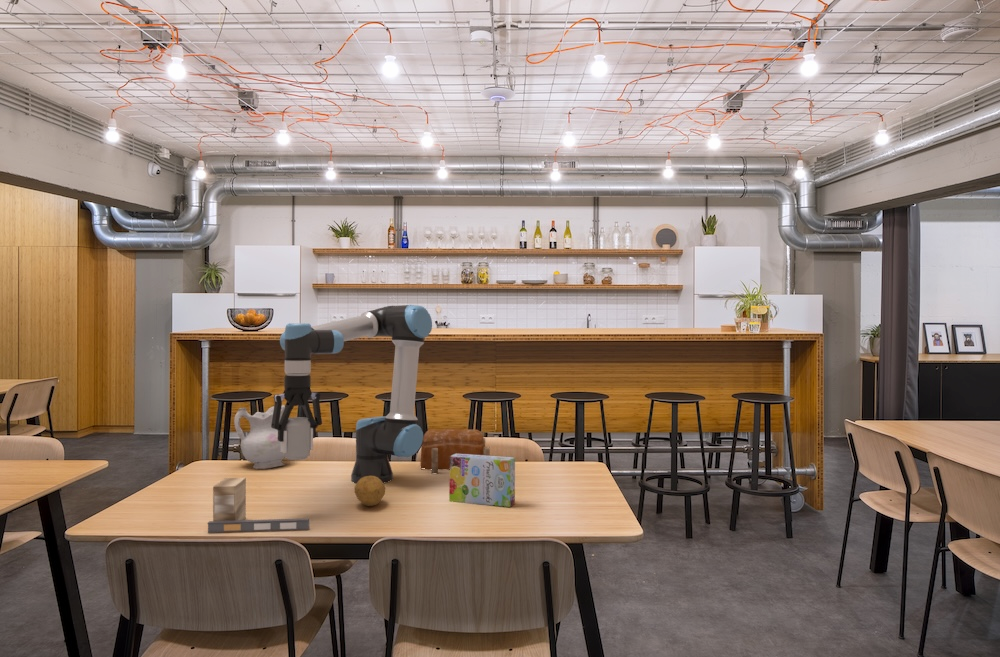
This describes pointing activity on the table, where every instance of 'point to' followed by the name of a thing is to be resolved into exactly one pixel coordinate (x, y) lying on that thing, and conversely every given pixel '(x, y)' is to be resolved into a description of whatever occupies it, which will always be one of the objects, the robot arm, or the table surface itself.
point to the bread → (450, 445)
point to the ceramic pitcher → (260, 439)
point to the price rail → (258, 525)
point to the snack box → (482, 479)
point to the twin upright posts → (435, 457)
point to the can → (298, 438)
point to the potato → (370, 490)
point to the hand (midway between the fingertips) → (296, 450)
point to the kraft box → (229, 500)
